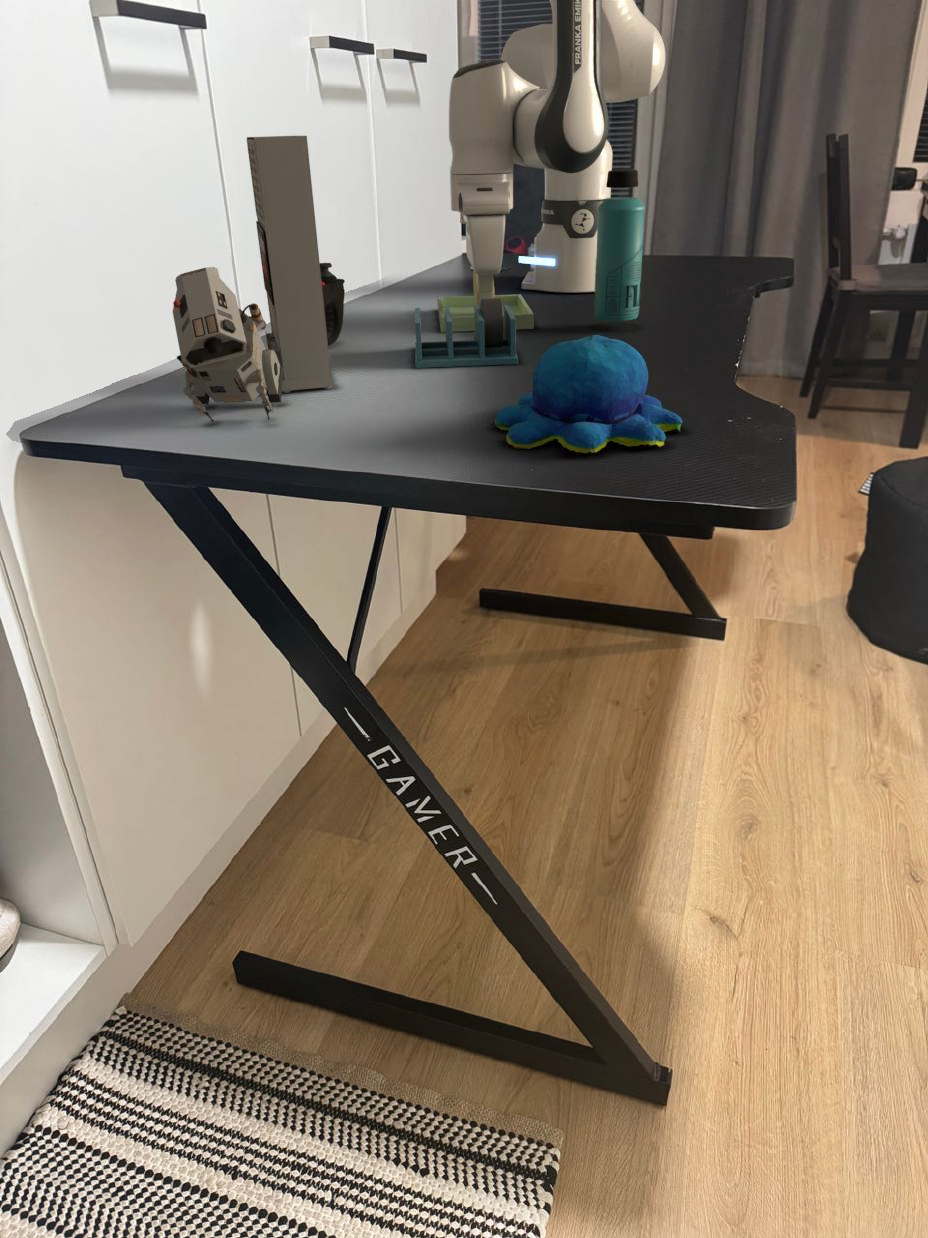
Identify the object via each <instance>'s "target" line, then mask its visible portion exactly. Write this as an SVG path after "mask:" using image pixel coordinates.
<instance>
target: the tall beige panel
mask: <svg viewBox="0 0 928 1238" xmlns="http://www.w3.org/2000/svg"><path fill="white" fill-rule="evenodd" d="M246 145H247V153H248V161H249V169H250V177H251V184H252V185H251V186H252V192H253V199H254V207H255V215H256V218H257V219H256V221H255V224H256V231H257V238H258V246H259V247H258V248H259V255H260V262H261V269H262V270H261V271H262V277H263V284H264V285H263V286H264V290H265V292H266V299H267V308H268V314H269V315H268V316H269V321H270V322H269V323H270V330H271V332H270V333H268V332H267V330H266V329H264V330H265V339H266V347H267V350H274V352H275V353H276V356H277V358H278V361H279V364H280V365H281V366H282V368H283V382H282V394H287V393H291V392H292V391H299V390H310V389H322V388H323V390H329V389H332V388H333V387H334V379H333V375H332V371H331V362H330V352H329V345H328V341H327V331H326V321H325V311H324V301H323V291H322V282H321V272H320V263H321V262H320V253H319V243H318V232H317V223H316V214H315V213H316V212H315V204H314V194H313V184H312V173H311V165H310V154H309V143H308V136H307V135H275V136H246Z"/></svg>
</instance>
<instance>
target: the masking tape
mask: <svg viewBox="0 0 928 1238" xmlns="http://www.w3.org/2000/svg"><path fill="white" fill-rule="evenodd" d="M472 272H473V271H472ZM494 283H495V282H494V281H493V285H492V298H494V295H495V286H494V285H495V284H494ZM472 286H473V287H472V289H473V296H474V304H475V306H479V308H480V302H479V286H478V275H477V274H475V272H473V273H472Z"/></svg>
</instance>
